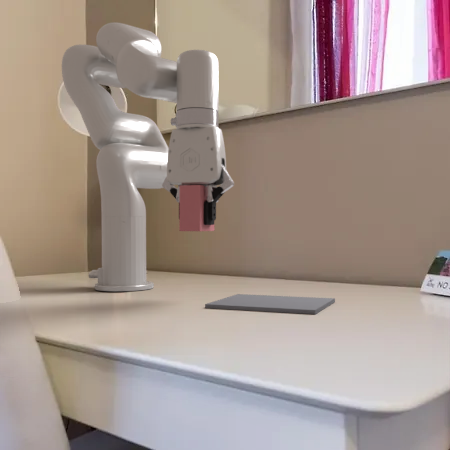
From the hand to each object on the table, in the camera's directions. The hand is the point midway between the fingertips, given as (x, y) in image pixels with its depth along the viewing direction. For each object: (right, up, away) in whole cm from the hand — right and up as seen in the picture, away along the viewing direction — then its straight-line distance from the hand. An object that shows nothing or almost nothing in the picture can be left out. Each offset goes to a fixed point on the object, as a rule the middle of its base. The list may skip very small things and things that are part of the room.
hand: (197, 223), depth 95 cm
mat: (+13, -13, -7) cm, 20 cm away
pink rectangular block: (0, -1, 0) cm, 1 cm away
